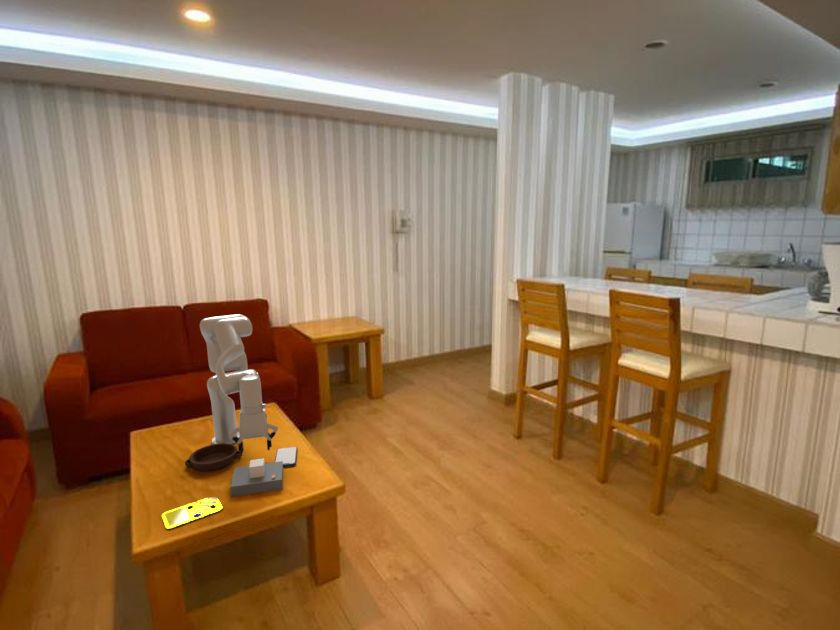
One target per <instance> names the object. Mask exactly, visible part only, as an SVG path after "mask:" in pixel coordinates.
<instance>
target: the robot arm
mask: <svg viewBox="0 0 840 630" xmlns="http://www.w3.org/2000/svg"><path fill="white" fill-rule="evenodd" d="M199 329H200V330H199V331H200V333H201V336H202V337H203V339H204V341H205V343H206V350H207V352H206V353H207V361H208V367H209V370H210V371H211V372H212V373H215V374H214V375H213V376H210V377H209V378H208V380H207V381H206V388H207V391H208V394H209V398H210V403H211V404H210V405H211V414H212V419H213V420H212V422H213V423H212V424H213V430H214V437H212V438H211V445H213V444H221V443H226V444H232V445H234V444H237V447H238V448H237V450H238V451H240V452H241V454H242V455H243V453H244V441H243V440H247V439H248V440H249V439H256V438H265V439H266V447H267V451H271V448H272V445H273V444H272V439H273V438H274V437H275V436H276V434H277V432H278V430H279V426H276V425H274V424H271V423H269V421H268V417H267V416H268V415H267V411H266V409H265V408H267V403H263V398H262V397H263V396H262V383H261V378H260V375H259V372H257V371H256V370H255V369H254V368H250V369H248V358H247V354H246V352H245V346H244V344H243V341H242V338H245V337H249V336H251V335H252V334H253V324H252V322H251V320H250V318H249V317H247V316H246V315H243V314H240V313H238V314H237V313H236V314H228V315H219V316H211V317H205V318H203V319H201V320H200V322H199ZM230 371H232V372H230ZM226 372H227V373H226ZM235 393H239V400H240V402H239V403H240V411H239V414H238V415H239V416H238V417H239V418H238V426H237V417H236V408H235V407H236V406H235V402H234V400H233V398H232V397H229V396H228V395H231V394H235ZM269 429H270V430H272V432H269Z"/></svg>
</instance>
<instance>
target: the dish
mask: <svg viewBox="0 0 840 630" xmlns="http://www.w3.org/2000/svg"><path fill="white" fill-rule="evenodd" d="M242 456H243V453H242V454H241V452H240V451H239V450H238V448H237V446H235V445H234V444H226V443H221V444H210V445H206V446H203V447H200V448H198V449H197V450H194V451H193V453H191V455H189V458H188V459H186V460H185V461H184V465H185V467H186V468H195V469H196V470H198V471H202V472H212V471H216V470H220V469H222V468H225V467H226V466H228V465H230V464H231V463H232V462H233V461H234V460H236V459H239V458H241V457H242Z"/></svg>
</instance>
